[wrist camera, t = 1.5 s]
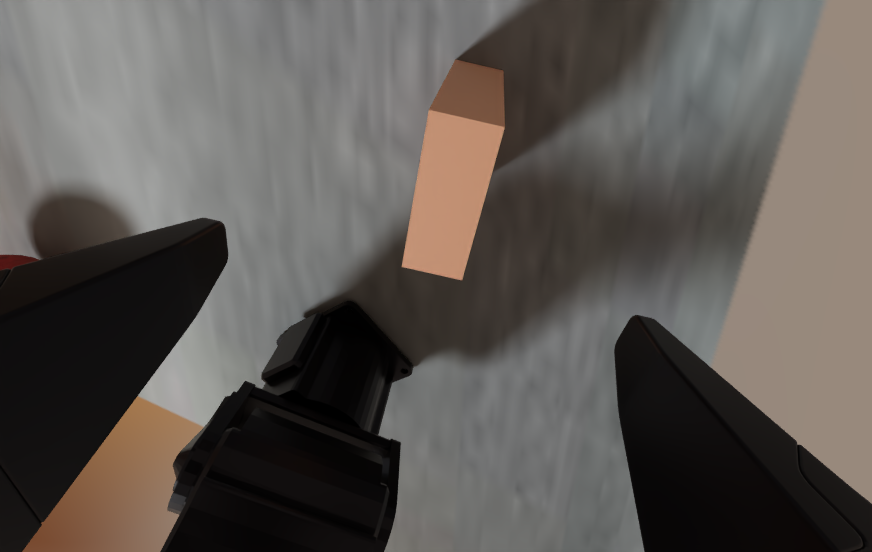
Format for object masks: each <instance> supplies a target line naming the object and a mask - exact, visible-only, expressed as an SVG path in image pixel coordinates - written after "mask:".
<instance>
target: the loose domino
mask: <svg viewBox="0 0 872 552" xmlns="http://www.w3.org/2000/svg"><path fill="white" fill-rule="evenodd" d="M504 129H505V113H504V74H503V70H499V69H494V68H490V67H486V66H481V65H477V64H473V63H468V62H464V61H460V60H456V59H455V61H454V63H453V65H452V67H451V69H450V71H449V73H448V75H447V77H446V78H445V80H444V82H443V84H442V86H441V88H440V90H439V92H438V94H437V96H436V97H435V99H434V101H433V103H432V105H431V107H430V109H429V113H428V119H427V124H426V130H425V136H424V142H423V147H422V153H421V159H420V165H419V170H418V176H417V182H416V187H415V193H414V199H413V205H412V210H411V216H410V222H409V228H408V233H407V239H406V245H405V251H404V256H403V262H402V267H405V268H410V269H414V270H418V271H423V272H427V273H432V274H436V275H440V276H445V277H449V278H454V279H458V280H462V279H463V275H464V271H465V268H466V264H467V261H468V257H469V254H470V250H471V246H472V243H473V239H474V236H475V232H476V229H477V225H478V221H479V218H480V214H481V211H482V207H483V204H484V200H485V196H486V193H487V189H488V186H489V182H490V179H491V175H492V171H493V168H494V164H495V161H496V157H497V154H498V150H499V146H500V143H501V139H502V136H503V132H504Z"/></svg>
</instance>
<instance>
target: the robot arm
mask: <svg viewBox="0 0 872 552" xmlns="http://www.w3.org/2000/svg"><path fill="white" fill-rule="evenodd" d="M227 260H228V247H227V238H226V229H225V226H224V224H223V223H222V222H221V221H217V220H212V219H208V218H199V219H196V220H192V221H188V222H184V223H180V224H176V225H172V226H169V227H165V228H161V229H157V230H153V231H149V232H146V233H142V234H138V235H134V236H130V237H126V238H123V239H119V240H115V241H111V242H107V243H103V244H100V245H96V246H92V247H88V248H84V249H80V250H76V251H73V252H69V253H65V254H61V255H57V256H53V257H50V258H46V259H42V260H38V261H34V262H30V263H27V264H23V265H19V266H15V267H13V268H12V269H8V268H7V269H3V270H0V552H22V551H23V550H24V548H25V547H26V545H27V544H28V543H29V542H30V540H31V539H32V537H33V536H34V535H35V533H36V532H37V531H38V529H39V528H40V527H41V525H42V524H41V522H44V521H45V519H46V518H47V517H48V515H49V514H50V513H51V511H52V510H53V508H54V507H55V506H56V505H57V503H58V502H59V501H60V499H61V498H62V497H63V495H64V494H65V492H66V491H67V490H68V489H69V487H70V486H71V485H72V483H73V482H74V480H75V479H76V478H77V476H78V475H79V474H80V472H81V471H82V470H83V468H84V467H85V466H86V464H87V463H88V462H89V460H90V459H91V457H92V456H93V455H94V454H95V452H96V451H97V450H98V448H99V447H100V446H101V444H102V443H103V442H104V440H105V439H106V437H107V436H108V435H109V433H110V432H111V431H112V429H113V428H114V427H115V425H116V424H117V422H118V421H119V420H120V419H121V417H122V416H123V414H124V413H125V412H126V411H127V409H128V408H129V407H130V405H131V404H132V403H133V401H134V400H135V399H136V397H137V396H138V395H139V393H140V392H141V390H142V389H143V388H144V386H145V385H146V384H147V382H148V381H149V380H150V378H151V377H152V376H153V374H154V373H155V372H156V370H157V369H158V368H159V366H160V365H161V364H162V362H163V361H164V360H165V358H166V357H167V356H168V354H169V353H170V352H171V350H172V349H173V347H174V346H175V345H176V343H177V342H178V341H179V339H180V338H181V337H182V335H183V334H184V333H185V331H186V330H187V329H188V327H189V326H190V324H191V323H192V322H193V320H194V319H195V317H196V316H197V314H198V312H199V311H200V309H201V307H202V306H203V304H204V302H205V300H206V299H207V297H208V295H209V293H210V292H211V290H212V288H213V286H214V285H215V283H216V281H217V279H218V278H219V276H220V274H221V272H222V271H223V269H224V267H225V265H226V263H227ZM347 308H348V309H351V310H352V311H349V310H348V309H347ZM277 345H278V347H277V348H276V350H275V352H274V354H273V355H272V357H271V359H270V360H269V362H268V364H267V365H266V367H265V369H264V370H263V372H262V375H261V379H262V380H263V381H264V382H265V385H264V387H263V389H260V388H257V387H255V384H252V383H250V382H247V381H245V382H244V383H243V385H242V386H241V387H240V389H239V390H238V391H237V392H233V393H232V394H231V396H227V397H225V398H224V400H223V401H222V403H221V404H220V406H219V408H218V409H217V411H216V412H215V414H214V415H213V417H212V418H211V419H210V421H209V422H208V423H207V425H206V426H205V427H204V428H203V429H202V430H201V431H200V432H199V433H198V434H197V435H196V436H195V437H194V438H193V439H192V440H191V441H190V442H189V443H188V444H187V445H186V446H185V448H183V449H182V450H181V452H180V453H179V454H178V456H177V457H176V459H175V461H174V463H173V468H174V472H175V475H176V481H175V484H174V487H173V491H174V492H173V494H172V496H171V499H170V501H169V505H168V511H171V512H173V513H176V514H179V517H178V519H177V521H176V523H175V525H174V527H173V529H172V531H171V533H170V534H169V536H168V538H167V540H166V542H165V544H164V546H163V548H162V550H161V552H384V550H385V548H386V545H387V542H388V539H389V536H390V533H391V530H392V526H393V522H394V518H395V513H396V506H397V494H398V478H399V462H400V446H401V442H399V441H396V440H393V439H390V440H389V439H386V438H384V437H381V436H379V435H378V434H379V430H380V426H381V422H382V418H383V415H384V411H385V407H386V403H387V400H388V396H389V392H390V388H391V385H392V382H395V381H397V380H400V379H403V378H405V377H408V376H410V375H411V374H412V370H413V365H412V364H411V363H410V362H409V361H408V359H407V358H406V357H405V356H404V355H403V354H402V353H401V352H400V351H399V350H398V349H397V347H396V346H395V345H394V344H393V343H392V342H391V341H390V340H389V339H388V338H387V337H386V335H385V334H384V333H383V332H382V331H381V330H380V329H379V328H378V327H377V326H376V325H375V323H374V322H373V321H372V320H371V319H370V318H369V317H368V316H367V315H366V314H365V313H364V311H363V310H362V309H361V308H360V307H359V306H358V305H357V304H356V303H355V302H352V301H346V302H344V303H342V304H340V305H338V306H336V307H334V308H332V309H330V310H328V311H326V312H324V313H316V314H314V315H312V316H310V317H308V318H306V319H304V320H302V321H300V322H298V323H296V324H294V325H293V326H291V327H289V328H288V330H287V332H286V333H284V334H282V335H280V337H279V338H278V340H277ZM614 355H615V370H616V385H617V400H618V411H619V418H620V424H621V429H622V435H623V440H624V445H625V451H626V456H627V461H628V466H629V472H630V477H631V482H632V488H633V493H634V498H635V504H636V509H637V514H638V520H639V525H640V530H641V536H642V541H643V546H644V551H645V552H872V504H871V503H870V502H869V501H868V500H866V499H865V498H864V497H863V496H861V495H860V494H859V493H858V492H856V491H855V490H854V489H853V488H851V487H850V486H849V485H848V484H846V483H845V482H844V481H843V480H842V479H841V478H839V477H838V476H837V475H836V474H835V473H833V472H832V471H831V470H830V469H829V468H827V467H826V466H825V465H824V464H823V463H821V462H820V461H819V460H818V459H817V458H816V457H814V456H813V455H812V454H811V453H810V452H809V451H807V450H806V449H805V448H804V447H803V446H802V445H797V442H796V440H795V439H793V438H792V437H791V436H790V435H789V434H788V433H786V432H785V431H784V430H783V429H782V428H780V427H779V426H778V425H777V424H776V423H775V422H773V421H772V420H771V419H770V418H769V417H768V416H766V415H765V414H764V413H763V412H762V411H761V410H760V409H758V408H757V407H756V406H755V405H754V404H752V403H751V402H750V401H749V400H748V399H747V398H746V397H744V396H743V395H742V394H741V393H740V392H738V391H737V390H736V389H735V388H734V387H733V386H732V385H730V384H729V383H728V382H727V381H726V380H724V379H723V378H722V377H721V376H720V375H719V374H718V373H716V372H715V371H714V370H713V369H712V368H711V367H709V366H708V365H707V364H706V363H705V362H704V361H702V360H701V359H700V358H699V357H698V356H697V355H696V354H694V353H693V352H692V351H691V350H690V349H689V348H687V347H686V346H685V345H684V344H683V343H682V342H680V341H679V340H678V339H677V338H676V337H675V336H673V335H672V334H671V333H670V332H669V331H668V330H666V329H665V328H664V327H663V326H662V325H661V324H659V323H658V322H657V321H656V320H655V319H652V318H649V317H644V316H639V315H635V316H633V317H631V318H630V320H629V321H628V323H627V325H626V326H625V328H624V330H623V331H622V333H621V335H620V336H619V338H618V340H617V342H616V344H615V350H614ZM403 368H405V369H403Z"/></svg>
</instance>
